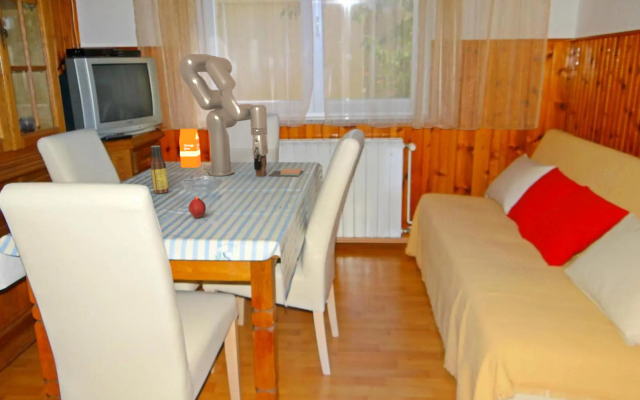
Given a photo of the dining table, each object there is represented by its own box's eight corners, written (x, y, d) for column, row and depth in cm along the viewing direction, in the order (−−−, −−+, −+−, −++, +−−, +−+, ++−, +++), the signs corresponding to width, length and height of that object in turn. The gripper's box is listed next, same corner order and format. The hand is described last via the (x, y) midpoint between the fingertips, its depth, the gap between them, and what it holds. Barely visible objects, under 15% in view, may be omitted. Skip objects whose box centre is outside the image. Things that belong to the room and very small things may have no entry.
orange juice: (197, 167, 276) (194, 129, 271) (181, 167, 276) (178, 129, 271) (201, 164, 283) (198, 128, 278) (185, 164, 283) (182, 128, 278)
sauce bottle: (171, 191, 222) (168, 145, 217) (163, 194, 216) (158, 147, 211) (159, 190, 224) (154, 144, 219) (149, 193, 219) (145, 146, 214)
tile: (280, 171, 249) (298, 172, 248) (284, 168, 257) (302, 168, 255) (280, 174, 249) (298, 175, 248) (284, 171, 257) (302, 172, 256)
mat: (267, 178, 247) (267, 176, 246) (274, 172, 260) (274, 170, 260) (298, 178, 244) (298, 177, 244) (304, 172, 258) (304, 171, 257)
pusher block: (255, 178, 247) (254, 157, 244) (258, 176, 250) (257, 156, 248) (263, 178, 246) (263, 157, 243) (266, 176, 250) (265, 156, 247)
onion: (190, 216, 184) (189, 194, 182) (207, 215, 185) (205, 193, 183) (188, 220, 179) (186, 198, 177) (205, 220, 179) (203, 197, 177)
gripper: (261, 134, 234) (263, 171, 238) (271, 129, 250) (272, 164, 255) (245, 133, 235) (247, 171, 239) (256, 129, 252) (258, 164, 256)
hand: (260, 167), depth 247 cm, fingers open, 9 cm apart
